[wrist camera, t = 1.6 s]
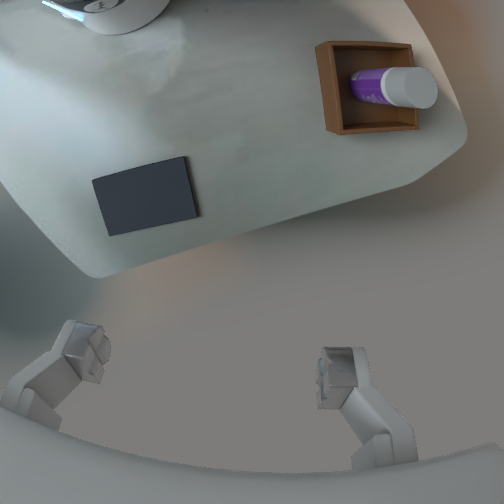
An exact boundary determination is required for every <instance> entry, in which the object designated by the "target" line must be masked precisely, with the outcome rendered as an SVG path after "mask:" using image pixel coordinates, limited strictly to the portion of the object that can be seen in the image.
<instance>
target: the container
mask: <svg viewBox="0 0 504 504" xmlns="http://www.w3.org/2000/svg"><path fill="white" fill-rule="evenodd" d="M347 85H348V90H349V93H350V94H351V96H352V97H353V98H354V99H356V100H358V101H361V102H369V103H377V104H385V105H392V106H401V107H411V108H419V109H427V108H429V107H431V106H432V105H433V104H434V103H435V101H436V99H437V96H438V85H437V82H436V80H435V78H434V76H433V75H432V74H431V73H430V72H429V71H428V70H427V69H425V68H422V67H391V68H380V69H370V70H361V71H356V72H354V73H353V74H352V75H351V76H350V77H349V79H348V84H347Z"/></svg>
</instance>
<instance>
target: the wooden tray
mask: <svg viewBox="0 0 504 504" xmlns="http://www.w3.org/2000/svg"><path fill="white" fill-rule="evenodd" d="M315 50H316V57H317V63H318V70H319V76H320V83H321V91H322V98H323V106H324V114H325V123H326V130H327V131H330V132H333V133H336V134H338V135H345V134H357V133H369V132H384V131H402V130H419V113H418V108H411V107H401V106H392V105H385V104H377V103H369V102H361V101H358V100H356V99H354V98H353V97H352V96H351V94H350V93H349V90H348V85H347V84H348V79H349V77H350V76H351V75H352V74H353V73H354V72H356V71H361V70H370V69H380V68H391V67H414V60H413V53H412V46H411V44H400V43H387V42H369V41H327V42H324V43H322V44H320V45H318V46H316V47H315Z"/></svg>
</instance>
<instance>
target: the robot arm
mask: <svg viewBox="0 0 504 504" xmlns="http://www.w3.org/2000/svg"><path fill="white" fill-rule="evenodd" d="M51 1H52V3H53V4H55V5H56V6H58V7H56V6H54V5H52V4H50V3H48V2H45V1H43V2H42V3H44V4H46V5H49V6H51V7H53V8H55V9H57V10H59V11H61V12H62V15H63V16H64V17H65V18H67V19H71V20H77V21H80V22H81V23H83V24H84V25H85V26H86V27H87V28H89V29H90V30H92V31H94V32H97V33H100V34H105V35H118V34H124V33H128V32H131V31H134V30H136V29H139V28H141V27H143V26H144V25H146V24H148V23H149V22H151V21H152V20H153V19H154V18H156V17H157V16H158V15H159V14H160V13H161V12H162V11H163V10H164V8H165V7H166V6H167V5H168V3H169V1H170V0H51ZM104 332H105V331H104V329H103V327H102V326H99V325H93V324H88V323H82V322H79V321H74V320H68V321H66V322H65V324H64V326H63V328H62V330H61V332H60V334H59V335H58V338H57V339H56V342H55V344H54V346H53V348H52V350H51V352H50V351H47V352H46V353H45V354H43V355H42V356H40V357H39V358H38V359H36V360H35V361H34V362H32V363H31V364H30V365H28V366H27V367H26V368H24V369H23V370H22V371H20V372H19V373H18V374H16V375H15V376H14V377H13V378H11V379H10V380H9V382H8V385H7V387H6V389H5V391H4V394H3V396H2V398H1V401H0V504H504V450H503V449H502V448H501V447H500V446H499V445H498V444H496V443H494V442H490V443H486V444H482V445H479V446H476V447H472V448H469V449H466V450H462V451H458V452H454V453H450V454H446V455H442V456H438V457H434V458H429V459H425V460H420V461H418V454H417V447H416V441H415V435H414V429H413V428H412V426H411V425H410V424H409V423H408V422H407V421H406V420H405V419H404V418H403V417H402V415H401V414H400V413H399V412H398V411H397V409H396V408H395V407H394V406H393V405H392V404H391V403H390V402H389V400H388V399H387V398H386V397H385V396H384V395H383V394H382V392H381V391H380V390H379V389H378V388H377V387H373V386H372V380H371V375H370V369H369V364H368V359H367V353H366V350H365V348H364V347H324V348H323V349H322V351H321V358H320V359H319V360H318V363H317V367H316V383H317V384H318V386H319V390H318V392H317V407H318V409H340V412H341V413H342V415H343V416H344V418H345V419H346V421H347V422H348V424H349V425H350V427H351V428H352V429H353V431H354V433H355V434H356V435H357V437H358V438H359V440H360V441H361V443H362V444H363V446H362V447H361V448H360V449H359V450H358V451H357V452H355V453H354V454H353V455H352V456H351V457H352V470H348V471H335V472H315V473H314V472H313V473H271V472H270V473H269V472H249V471H235V470H225V469H215V468H206V467H199V466H192V465H185V464H179V463H173V462H168V461H162V460H157V459H153V458H148V457H143V456H139V455H135V454H131V453H126V452H122V451H119V450H115V449H111V448H108V447H104V446H101V445H98V444H94V443H91V442H88V441H85V440H82V439H78V438H76V437H73V436H70V435H67V434H64V433H61V432H59V427H60V424H61V421H62V418H61V417H60V415H59V414H58V413H56V411H55V410H53V409H54V408H55V407H56V406H57V405H58V404H59V403H60V402H61V401H63V400H64V399H65V398H66V396H68V395H69V393H71V392H72V391H73V390H74V389H75V388H76V387H77V386H78V385H79V384H80V383H81V382H82V380H83V381H88V382H92V383H97V384H100V382H101V379H102V376H103V374H104V371H105V370H104V367H103V364H105V363H106V362H107V361H108V360H109V357H110V352H111V345H110V341H109V339H108V338H107V337H106V336H105V335H104Z"/></svg>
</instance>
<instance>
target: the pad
mask: <svg viewBox="0 0 504 504" xmlns="http://www.w3.org/2000/svg"><path fill="white" fill-rule="evenodd" d="M92 183H93V187H94V190H95V193H96V197H97V200H98V203H99V206H100V209H101V213H102V216H103V219H104V222H105V225H106V228H107V230H108V233H109V236H113V235H117V234H122V233H126V232H131V231H135V230H140V229H144V228H149V227H154V226H158V225H163V224H168V223H173V222H178V221H182V220H187V219H192V218H197V211H196V207H195V203H194V199H193V194H192V190H191V186H190V181H189V177H188V172H187V168H186V163H185V159H184V156H183V157H178V158H174V159H169V160H165V161H161V162H157V163H152V164H148V165H144V166H141V167H137V168H133V169H129V170H125V171H122V172H118V173H114V174H111V175H107V176H104V177H100V178H97V179H94V180H92Z"/></svg>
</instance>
